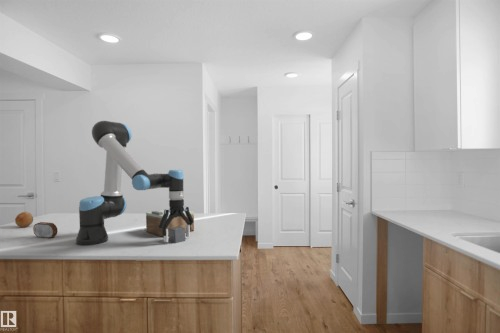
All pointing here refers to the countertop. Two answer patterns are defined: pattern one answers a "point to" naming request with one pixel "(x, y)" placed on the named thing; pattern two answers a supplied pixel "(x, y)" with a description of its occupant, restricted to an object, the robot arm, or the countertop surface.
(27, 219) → the onion
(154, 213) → the lid
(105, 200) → the robot arm
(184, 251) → the countertop surface
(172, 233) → the block
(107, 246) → the countertop surface
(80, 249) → the countertop surface
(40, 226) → the tin
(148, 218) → the storage box
